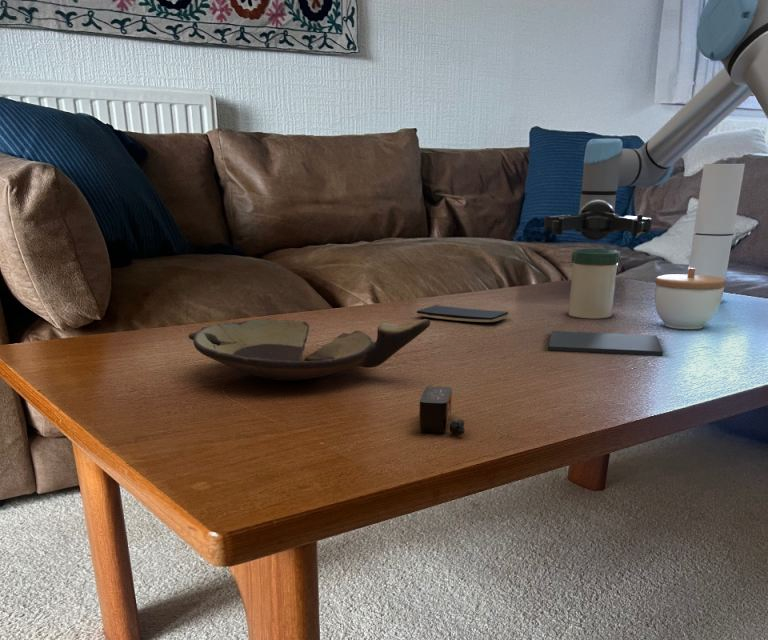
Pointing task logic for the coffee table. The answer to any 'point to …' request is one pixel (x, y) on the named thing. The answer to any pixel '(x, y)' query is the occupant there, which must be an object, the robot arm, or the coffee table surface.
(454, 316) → the smartphone
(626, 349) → the mat
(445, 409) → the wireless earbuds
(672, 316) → the trinket box
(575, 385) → the coffee table surface
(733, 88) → the robot arm
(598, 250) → the lid
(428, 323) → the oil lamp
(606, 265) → the jar
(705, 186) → the cylindrical container
